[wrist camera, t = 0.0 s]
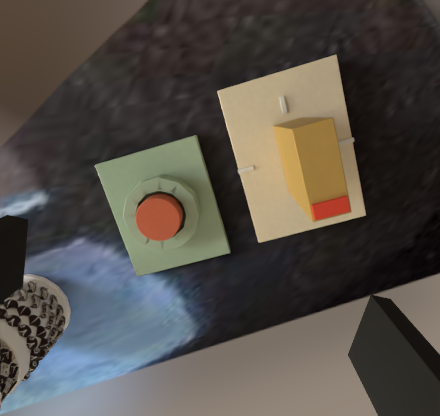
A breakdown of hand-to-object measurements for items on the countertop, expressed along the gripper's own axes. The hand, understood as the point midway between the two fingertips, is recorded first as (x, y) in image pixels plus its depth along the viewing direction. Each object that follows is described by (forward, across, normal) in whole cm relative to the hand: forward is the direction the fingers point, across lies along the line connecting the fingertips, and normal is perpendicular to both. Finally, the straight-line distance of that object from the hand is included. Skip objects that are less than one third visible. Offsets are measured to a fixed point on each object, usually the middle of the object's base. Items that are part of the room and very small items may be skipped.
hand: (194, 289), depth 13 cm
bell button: (+18, -4, -3) cm, 19 cm away
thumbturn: (+18, +6, +4) cm, 19 cm away
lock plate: (+21, +6, +4) cm, 22 cm away
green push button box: (+21, -4, -4) cm, 22 cm away
